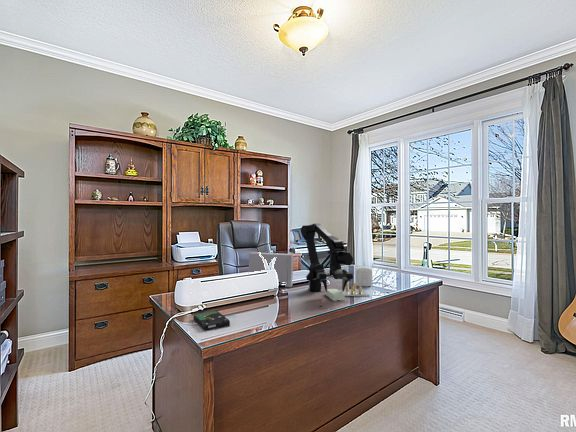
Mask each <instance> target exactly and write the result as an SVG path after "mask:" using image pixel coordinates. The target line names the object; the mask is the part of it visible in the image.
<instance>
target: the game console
mask: <svg viewBox="0 0 576 432" xmlns="http://www.w3.org/2000/svg"><path fill="white" fill-rule="evenodd" d="M259 253H261V255H262V256H263V257H264V258H265V259H266V260H267V263H268V264H269V263H270V261H271V259H272V258H274V257H277V258H276V261H275V264H274V268H275V270H276V272H277V274H278V279H279V282H287V284H286V285H285V287H284V288H292V287H293V283H292V280H293V279H294V278H293V276H294V275H293V274H294V272H293V271H294V269H293V268H294V254H293V253H277V252H275V253H274V252H254V251H253V252H251V251H250V252H249V253H248V273H249V272H254V271H261V270H264V269H265V268H264V263H263V261H262V258H261V257H260V256H259Z"/></svg>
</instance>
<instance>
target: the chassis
mask: <svg viewBox="0 0 576 432" xmlns="http://www.w3.org/2000/svg"><path fill="white" fill-rule="evenodd" d="M338 290H339V291H340V292H342V293H343V294H344V297H345V296H356V297H370V293H368V292H367V291H365V290H364V289H363V286H358V289H357V286H356V282H353V284H352V285H351V286H350V285H349V282H347V284H346V287H345V289H344V292H343V291H342V288H341V289H339V288H338Z"/></svg>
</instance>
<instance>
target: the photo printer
mask: <svg viewBox="0 0 576 432" xmlns="http://www.w3.org/2000/svg"><path fill="white" fill-rule="evenodd" d="M355 283H356V287H359V286H361V287H368V286H373V269H372V267H369V266H358V267H356V270H355Z"/></svg>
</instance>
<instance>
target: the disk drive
mask: <svg viewBox="0 0 576 432" xmlns="http://www.w3.org/2000/svg"><path fill="white" fill-rule="evenodd" d="M193 321H194V322H195V323H196V324H197V325H198V326H199V328H201V329H202V330H203V331H204V332H207V331H212V330H218V329H222V328H223V329H224V328H227V327H228V328H229V327H231V320H230V319H229V318H227V317H226V316H225V315H223V314H222V313H221V312H220V311H218V310H211V311H205V312H201V313H194V315H193Z"/></svg>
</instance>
